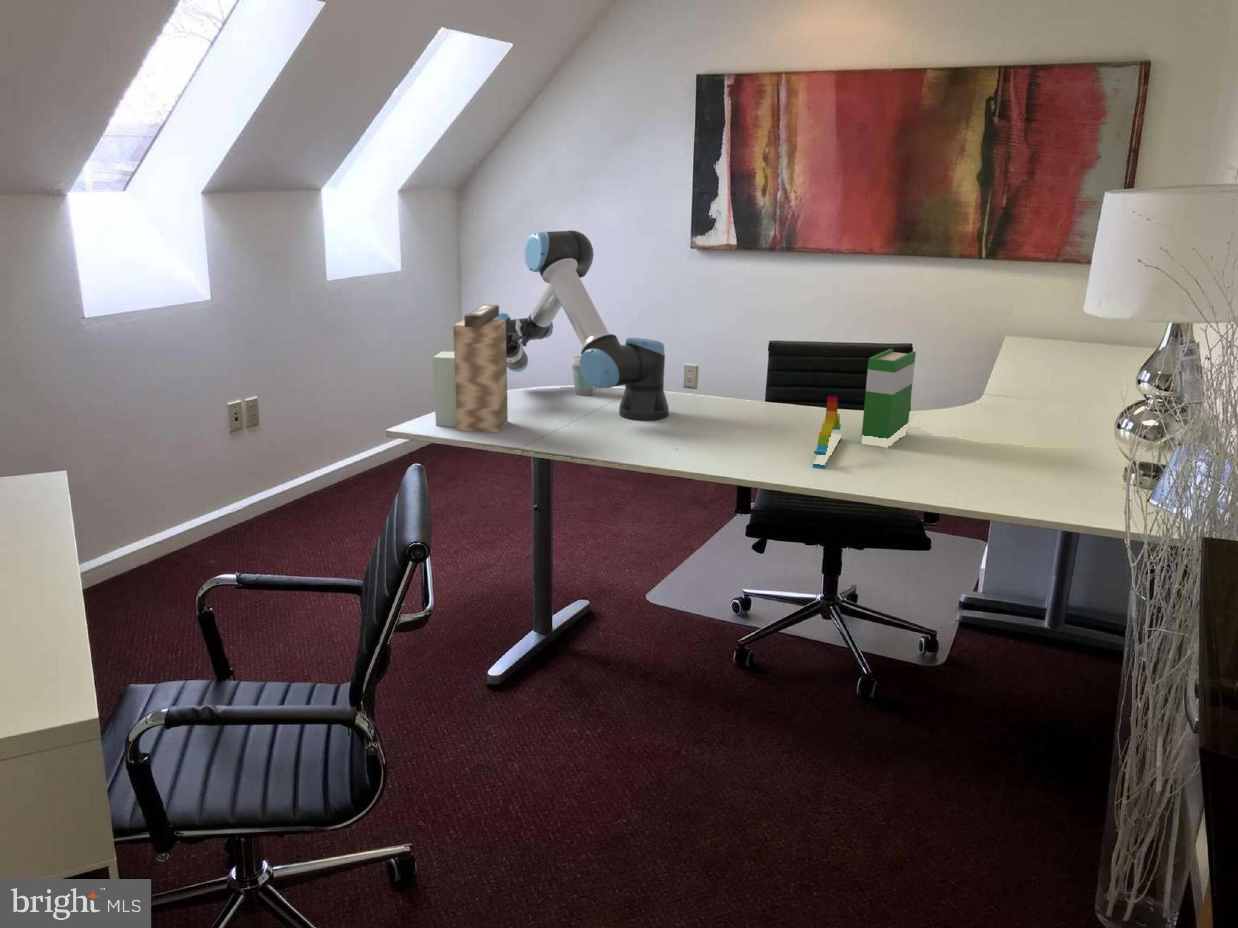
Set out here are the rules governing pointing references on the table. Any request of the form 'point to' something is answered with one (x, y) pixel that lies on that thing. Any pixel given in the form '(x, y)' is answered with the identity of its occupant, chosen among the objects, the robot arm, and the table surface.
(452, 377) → the green pedestal
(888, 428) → the hardback book
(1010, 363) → the table surface
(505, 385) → the oak stand
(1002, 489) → the table surface
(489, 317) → the domino case
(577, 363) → the coffee cup
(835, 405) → the chart
